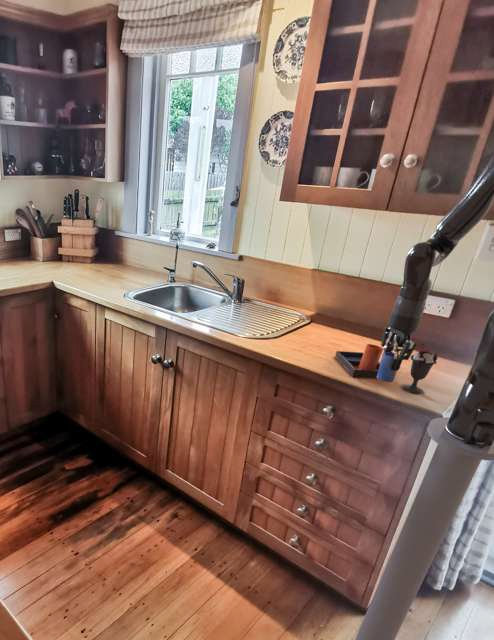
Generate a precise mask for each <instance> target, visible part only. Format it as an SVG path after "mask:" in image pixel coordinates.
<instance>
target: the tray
mask: <svg viewBox="0 0 494 640" xmlns="http://www.w3.org/2000/svg"><path fill="white" fill-rule="evenodd" d="M363 353H364V352H361V351H360V352H359V351H345V350H343V351H342V350H336V352H335V355H334V359H335V360H336V361H337V362H338V363H339V365H341V367H343V369H344V370H345V371H346V372H347V373H348V374H349V375H350V376H351V377H352V378H361V379H362V378H363V379H377V378H376V377H377V373H378V369H379V366H380V361H378V364H377V367H376V369H375V370H362V369H359V368H358V367H359V364H360V361H361V358H362V356H363Z"/></svg>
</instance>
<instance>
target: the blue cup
mask: <svg viewBox="0 0 494 640" xmlns="http://www.w3.org/2000/svg"><path fill="white" fill-rule="evenodd" d="M394 355H395V352H393V353H391V352H384V351H383V352H382V354H381V358H380V361H379V363H380V366H379V369H378V373H377V377H376V378H375V379H377V380H378V381H381V382H385V383H393V382H395V379H396V376H397V373H398V371H392V370H391V369H390V368H391V365H392V362H393V359H394Z"/></svg>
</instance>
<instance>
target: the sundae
mask: <svg viewBox="0 0 494 640" xmlns="http://www.w3.org/2000/svg"><path fill="white" fill-rule="evenodd" d="M421 347H422V348H421V349H419V350H418V352H417V353H414V354H411V356H410V360H412V362H411V367H410V368H411V369H410V376H411V378H412V379H413V381H412V383H411V384H410V385H409V384H408V385H404V386H403V389H404V390H405V391H407V392H409V393H411V394H422V393H423V390H422V389H421V388H419V387H418V383H419V381H422V380H424V379H425V378H426V377H427V376H428V374H429V373H430V371H431V369H432V367H433V366H434V365H436V364H437V363H438V362H437V360H438V354H437V353H435V354H433V352H431V351H430V349H427V347H426V346H425V343H421ZM424 348H425V349H424ZM423 349H424V350H423Z"/></svg>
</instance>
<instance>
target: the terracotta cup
mask: <svg viewBox="0 0 494 640" xmlns="http://www.w3.org/2000/svg"><path fill="white" fill-rule="evenodd" d="M383 348H384V347H382V346H380V345H377V344H371V343H367V344H366V346H365V349H364V351H363V352H362V353H363V356H362V358H361V361H360V364H359V367H358V368H359V369H362V370H375V369H376V367H377V364H378V362H380V360H381V357H382V355H383V352H384V350H383Z"/></svg>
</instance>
